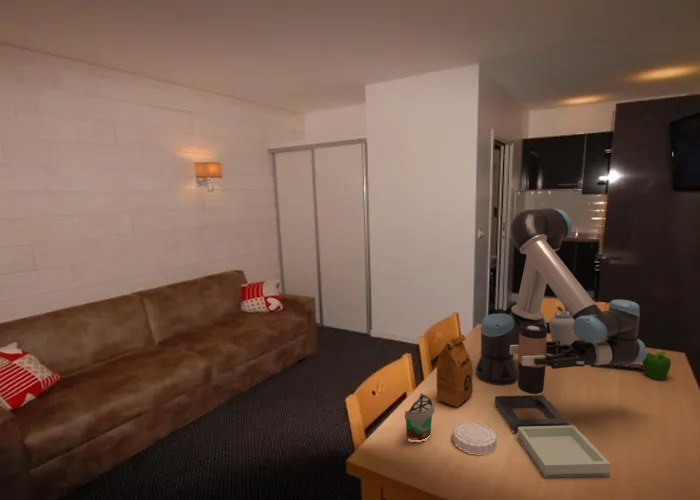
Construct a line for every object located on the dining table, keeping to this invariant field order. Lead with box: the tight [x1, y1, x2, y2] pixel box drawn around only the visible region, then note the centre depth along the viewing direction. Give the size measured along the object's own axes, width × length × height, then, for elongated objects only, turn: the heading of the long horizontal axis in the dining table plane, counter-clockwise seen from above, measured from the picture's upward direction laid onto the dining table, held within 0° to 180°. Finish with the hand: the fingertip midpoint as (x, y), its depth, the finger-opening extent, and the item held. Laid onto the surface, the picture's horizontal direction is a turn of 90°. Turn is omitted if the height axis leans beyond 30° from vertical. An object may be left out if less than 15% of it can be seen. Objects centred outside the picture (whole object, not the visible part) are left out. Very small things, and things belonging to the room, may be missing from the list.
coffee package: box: [435, 334, 474, 407], centre depth 133 cm, size 10×12×22 cm
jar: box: [548, 302, 580, 353], centre depth 165 cm, size 19×15×25 cm
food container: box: [404, 393, 436, 440], centre depth 113 cm, size 12×6×10 cm, turn 148°
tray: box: [517, 424, 612, 479], centre depth 103 cm, size 16×16×4 cm
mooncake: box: [452, 420, 498, 455], centre depth 110 cm, size 12×12×4 cm
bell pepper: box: [641, 350, 672, 381], centre depth 144 cm, size 8×8×10 cm
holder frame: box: [494, 394, 570, 434], centre depth 121 cm, size 16×16×3 cm
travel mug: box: [517, 323, 548, 395], centre depth 119 cm, size 8×8×20 cm
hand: (516, 355), depth 118 cm, fingers closed on travel mug, 7 cm apart
